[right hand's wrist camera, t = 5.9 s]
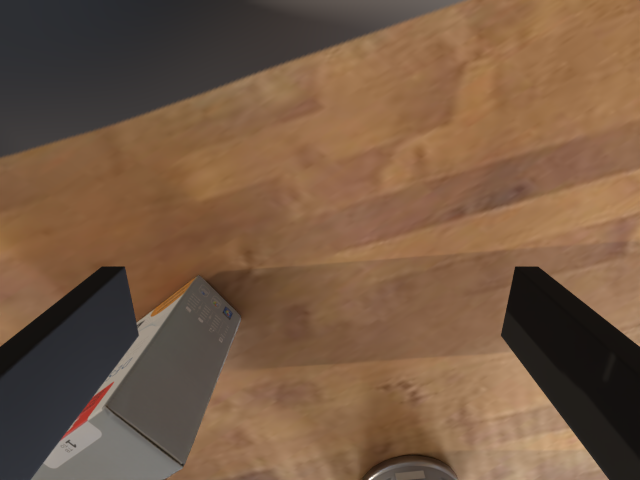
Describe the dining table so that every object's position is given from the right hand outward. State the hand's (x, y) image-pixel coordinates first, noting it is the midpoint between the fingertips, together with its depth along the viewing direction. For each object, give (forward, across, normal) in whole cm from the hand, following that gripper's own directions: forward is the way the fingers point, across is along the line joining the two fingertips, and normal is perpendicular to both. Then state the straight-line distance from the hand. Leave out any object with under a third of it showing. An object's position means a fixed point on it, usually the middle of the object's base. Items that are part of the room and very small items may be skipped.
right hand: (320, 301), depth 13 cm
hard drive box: (+28, +18, +20) cm, 39 cm away
